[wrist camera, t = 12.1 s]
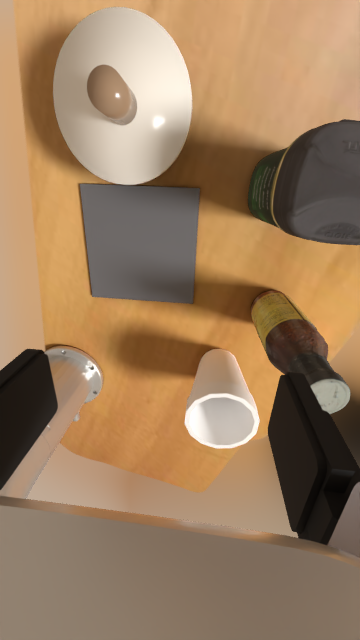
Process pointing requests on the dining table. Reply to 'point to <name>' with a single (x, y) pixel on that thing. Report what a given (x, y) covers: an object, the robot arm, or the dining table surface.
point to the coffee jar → (312, 185)
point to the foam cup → (221, 403)
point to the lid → (122, 96)
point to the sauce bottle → (298, 347)
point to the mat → (141, 241)
